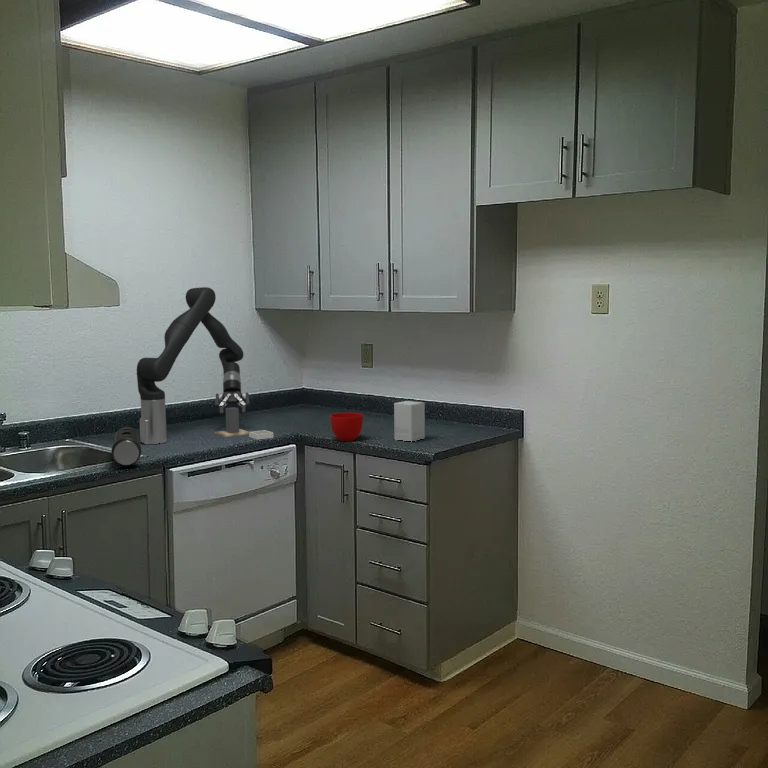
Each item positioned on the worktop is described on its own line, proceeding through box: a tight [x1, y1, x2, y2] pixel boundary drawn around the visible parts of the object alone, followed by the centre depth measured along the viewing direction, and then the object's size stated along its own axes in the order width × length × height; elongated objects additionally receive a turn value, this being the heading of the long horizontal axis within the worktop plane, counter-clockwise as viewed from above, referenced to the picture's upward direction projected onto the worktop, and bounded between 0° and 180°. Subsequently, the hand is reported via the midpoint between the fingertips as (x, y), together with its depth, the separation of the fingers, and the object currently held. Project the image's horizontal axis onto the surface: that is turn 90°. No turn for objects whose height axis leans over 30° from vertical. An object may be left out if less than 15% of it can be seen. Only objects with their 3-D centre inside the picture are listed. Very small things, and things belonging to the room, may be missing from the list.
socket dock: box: [248, 429, 274, 440], centre depth 328 cm, size 7×7×3 cm
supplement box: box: [393, 400, 426, 443], centre depth 322 cm, size 9×9×15 cm
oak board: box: [213, 428, 250, 438], centre depth 336 cm, size 12×10×1 cm
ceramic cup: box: [329, 412, 364, 442], centre depth 325 cm, size 13×17×10 cm
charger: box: [224, 406, 240, 433], centre depth 336 cm, size 4×4×10 cm
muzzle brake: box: [111, 426, 142, 467], centre depth 285 cm, size 10×28×10 cm, turn 17°
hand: (232, 414), depth 343 cm, fingers open, 8 cm apart
